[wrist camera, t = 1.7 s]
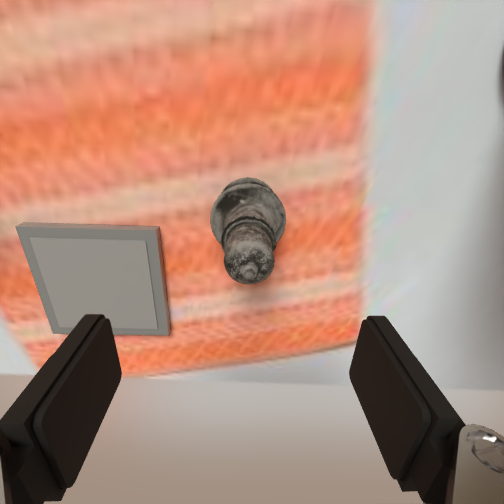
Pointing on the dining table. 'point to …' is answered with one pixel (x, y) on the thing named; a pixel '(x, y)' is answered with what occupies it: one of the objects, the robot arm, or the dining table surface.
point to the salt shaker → (248, 228)
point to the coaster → (99, 275)
